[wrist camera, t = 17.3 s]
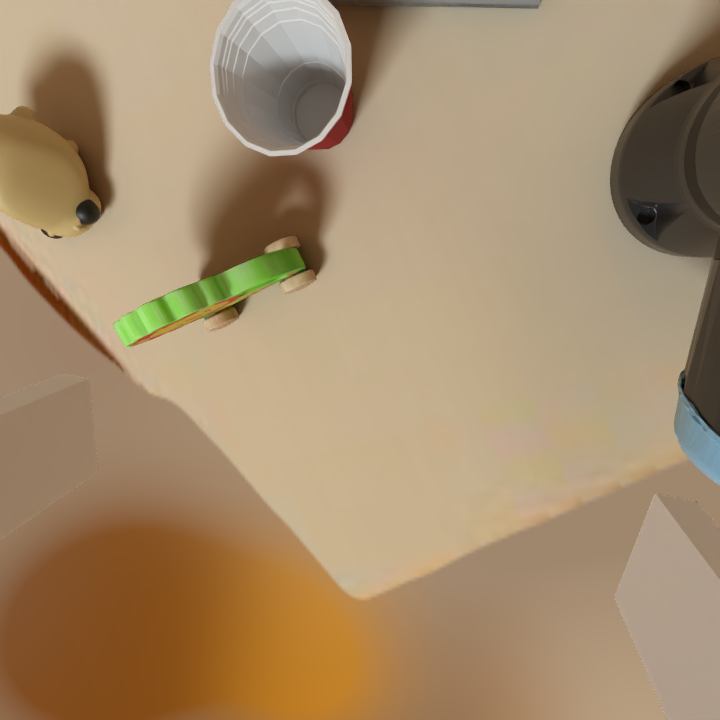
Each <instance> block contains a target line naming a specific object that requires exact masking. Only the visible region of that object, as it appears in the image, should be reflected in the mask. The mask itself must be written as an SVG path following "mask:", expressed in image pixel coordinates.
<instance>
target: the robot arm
mask: <svg viewBox="0 0 720 720" xmlns="http://www.w3.org/2000/svg"><path fill="white" fill-rule="evenodd" d="M610 187H611V195H612V200H613V204H614V207H615V210H616V212H617V214H618V216H619V218H620V220H621V222H622V223H623V225H624V226H625V227H626V229H627V230H628V231H629V232H630V233H631V234H632V235H633V236H634V237H635V238H636V239H638V240H639V241H640V242H642V243H643V244H645V245H646V246H648V247H650V248H652V249H654V250H657V251H659V252H662V253H666V254H670V255H675V256H685V257H714V258H713V259H712V263H711V267H710V271H709V275H708V279H707V283H706V287H705V291H704V295H703V299H702V303H701V307H700V311H699V315H698V319H697V323H696V326H695V330H694V334H693V338H692V342H691V346H690V350H689V354H688V358H687V362H686V366H685V370H683V371H682V372H681V373H680V376H679V379H678V391H679V398H678V404H677V409H676V414H675V419H674V431H675V435H676V436H677V438H678V441H679V444H680V446H681V449H682V450H683V452H684V453H685V455H686V456H687V457H688V458H689V459H690V460H691V461H692V463H693V464H694V465H695V466H696V467H697V468H698V469H699V470H701V471H702V472H703V473H704V474H705V475H707V476H708V477H709V478H710V479H712V480H713V481H715V482H716V483H717V484H719V485H720V57H718V58H715V59H712V60H709V61H707V62H704V63H702V64H700V65H697V66H695V67H693V68H691V69H689V70H688V71H686V72H684V73H683V74H681V75H679V76H678V77H676V78H675V79H674V80H672V81H671V82H669V83H668V84H666V85H665V86H663V87H662V88H661V89H659V90H658V91H657V92H656V93H654V94H653V95H652V96H651V97H650V98H649V99H648V100H647V101H646V102H645V103H644V104H643V105H642V106H641V107H640V108H639V109H638V111H637V112H636V113H635V114H634V116H633V117H632V118H631V120H630V121H629V123H628V124H627V126H626V128H625V129H624V131H623V133H622V135H621V137H620V139H619V142H618V144H617V147H616V150H615V153H614V156H613V160H612V165H611V174H610ZM96 473H98V467H97V456H96V446H95V435H94V425H93V415H92V404H91V394H90V384H89V378H86V377H81V376H76V375H71V374H66V373H61V374H58V375H56V376H53V377H50V378H48V379H45V380H42V381H40V382H37V383H34V384H32V385H29V386H27V387H24V388H21V389H19V390H16V391H13V392H11V393H8V394H5V395H3V396H0V540H1V539H3V538H4V537H6V536H7V535H8V534H10V533H11V532H13V531H14V530H16V529H17V528H19V527H20V526H21V525H23V524H24V523H26V522H27V521H29V520H30V519H31V518H33V517H34V516H36V515H37V514H39V513H40V512H42V511H43V510H45V509H46V508H47V507H49V506H50V505H52V504H53V503H54V502H56V501H58V500H59V499H60V498H62V497H63V496H65V495H66V494H68V493H69V492H70V491H72V490H73V489H75V488H76V487H77V486H79V485H80V484H82V483H83V482H85V481H86V480H88V479H89V478H91V477H92V476H93V475H95V474H96ZM614 598H615V601H616V603H617V605H618V608H619V610H620V612H621V615H622V617H623V619H624V622H625V624H626V626H627V629H628V631H629V634H630V636H631V638H632V641H633V643H634V645H635V647H636V650H637V652H638V655H639V657H640V659H641V661H642V664H643V666H644V669H645V671H646V673H647V676H648V678H649V680H650V683H651V685H652V687H653V689H654V692H655V694H656V697H657V699H658V701H659V704H660V706H661V708H662V711H663V713H664V715H665V718H666V720H720V528H719V526H718V525H717V524H716V523H715V522H714V521H713V520H712V518H711V517H710V516H709V515H708V514H707V513H706V512H705V510H704V509H703V508H702V507H701V506H700V505H699V504H698V502H697V501H692V500H687V499H682V498H677V497H673V496H668V495H663V494H658V493H655V495H654V497H653V500H652V502H651V505H650V507H649V510H648V512H647V515H646V517H645V520H644V522H643V525H642V527H641V530H640V533H639V535H638V538H637V541H636V543H635V545H634V548H633V551H632V553H631V555H630V558H629V561H628V563H627V566H626V568H625V571H624V573H623V576H622V579H621V581H620V583H619V586H618V589H617V591H616V594H615V596H614Z"/></svg>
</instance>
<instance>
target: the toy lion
mask: <svg viewBox="0 0 720 720" xmlns="http://www.w3.org/2000/svg"><path fill="white" fill-rule="evenodd" d="M299 247H300V244H299V241H298V239H297V237H296V236H295V235H291V236H286V237H283V238H280V239H278V240H276V241H274V242H272V243H271V244H269V245H268V246H266V247H265V248H264V250H263V252H264V255H261V256H258V257H256V258H253V259H251V260H248V261H246V262H244V263H241V264H239V265H237V266H235V267H232V268H230V269H228V270H226V271H224V272H222V273H220V274H217V275H215V276H211V277H207V278H204V279H202V280H200V281H198V282H196V283H193V284H190V285H187V286H184V287H182V288H179V289H177V290H174V291H172V292H170V293H168V294H167V295H164V296H162V297H159V298H157V299H154V300H152V301H150V302H148V303H145V304H143V305H142V306H140V307H139V308H138V309H136V310H134V311H132V312H130V313H128V314H126V315H124V316H123V317H121V318H120V320H119V321H117V322H115V323H114V324H113V326H114V328H115V330H116V331H117V333H118V335H119V337H120V338H121V340H122V342H123V344H124V345H125V346H126V347H132V346H135V345H138V344H140V343H143V342H146V341H149V340H152V339H154V338H156V337H159V336H161V335H163V334H166V333H168V332H171V331H173V330H176V329H178V328H180V327H182V326H184V325H186V324H188V323H191V322H193V321H196V320H198V319H201V318H205V321H204V322H203V324H204V325H205V327H206V330H207V331H214V330H218V329H221V328H223V327H226V326H228V325H229V324H231V323H233V322H234V321H236V320H237V319H238V318H239V315H238V313H237V311H236V309H235V308H234V307H232V305H233V304H235V303H237V302H239V301H241V300H243V299H245V298H246V297H248V296H250V295H252V294H254V293H257V292H258V291H260V290H263V289H265V288H267V287H269V286H271V285H273V284H275V283H277V282H279V281H280V284H279V286H280V288H281V290H282V292H283V294H288V293H292V292H295V291H298V290H301V289H303V288H305V287H307V286H308V285H310V284H311V283H313V282H314V281H315V280H316V279H317V278H316V276H315V273H314V271H313V270H312V269H310V270H307V271H305V268H306V266H305V264H304V262H303V260H302V258H301V256H300V254H299V252H298V250H297V249H298V248H299Z"/></svg>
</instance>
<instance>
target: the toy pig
mask: <svg viewBox="0 0 720 720" xmlns="http://www.w3.org/2000/svg"><path fill="white" fill-rule="evenodd" d="M78 152H79V147H78V145H77V144H76V143H75V142H74V141H71V140H65V139H64V138H63V137H61V136H60V135H59V134H58V133H56V132H55V131H54V130H52V129H50V128H49V127H47V126H45V125H43V124H41V123H39V122H37V121H35V116H34V113H33V111H32V110H31V109H29V108H27V107H24V106H20V107H17V108H16V109H15V110H13V111H12V113H10V114H8V115H0V211H2V212H3V213H5V214H7V215H9V216H11V217H12V218H14V219H16V220H18V221H20V222H22V223H24V224H27V225H29V226H32V227H34V228H38V229H41V231H42V232H43V233H44V234H45V235H46V236H48V237H51V238H55V239H58V238H62V237H72V236H77V235H80V234H82V233H84V232H86V231H87V230H88V229H89V228H91V227H92V226H93V225H94V224H95V222H97V221H98V219H99V217H100V214H101V203H100V200H99V198H98V197H97V195H96V194H95V193H94V192H93V191H91V190H90V189H89V183H88V176H87V172H86V169H85V166H84V164H83V162H82V160H81V158H80V157H79V155H78Z"/></svg>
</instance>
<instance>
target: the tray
mask: <svg viewBox="0 0 720 720" xmlns="http://www.w3.org/2000/svg"><path fill="white" fill-rule="evenodd" d="M328 1H329V2H330V3H331V4H332V5H371V6H427V7H484V8H538V7H539V5H540V2H541V0H328Z"/></svg>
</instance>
